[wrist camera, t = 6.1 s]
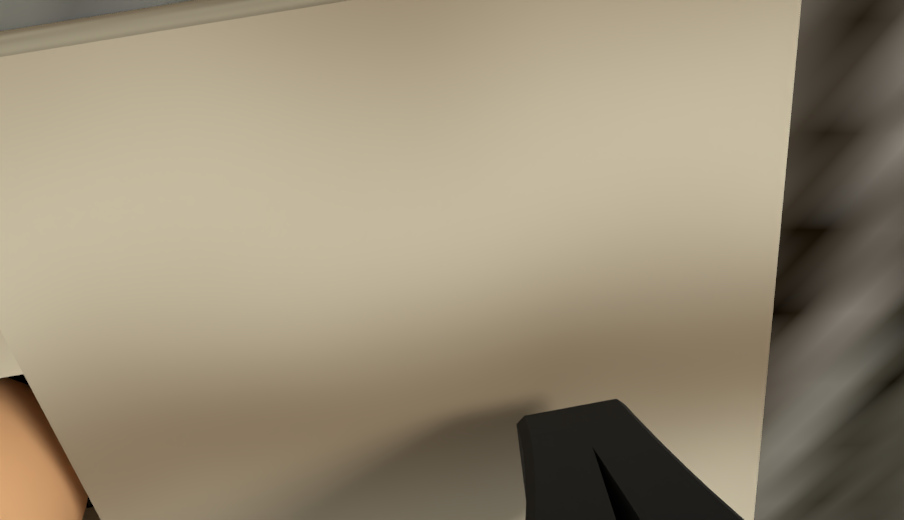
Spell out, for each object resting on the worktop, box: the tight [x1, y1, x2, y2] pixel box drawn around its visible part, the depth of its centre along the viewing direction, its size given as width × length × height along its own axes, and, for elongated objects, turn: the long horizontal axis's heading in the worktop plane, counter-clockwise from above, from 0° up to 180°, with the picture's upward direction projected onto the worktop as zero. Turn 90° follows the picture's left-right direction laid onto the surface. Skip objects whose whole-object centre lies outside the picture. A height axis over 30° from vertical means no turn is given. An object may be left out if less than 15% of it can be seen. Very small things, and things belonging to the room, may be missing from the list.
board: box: [0, 0, 801, 520], centre depth 11 cm, size 12×20×2 cm, turn 98°
